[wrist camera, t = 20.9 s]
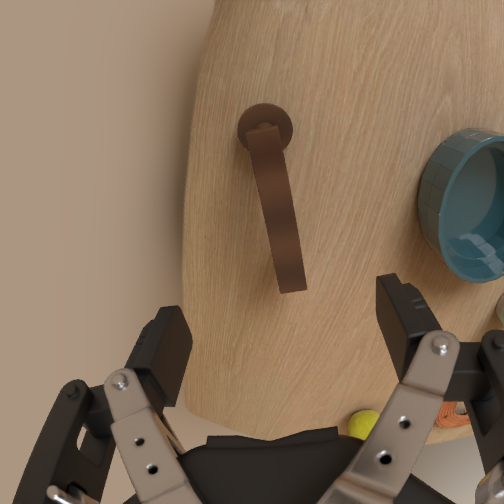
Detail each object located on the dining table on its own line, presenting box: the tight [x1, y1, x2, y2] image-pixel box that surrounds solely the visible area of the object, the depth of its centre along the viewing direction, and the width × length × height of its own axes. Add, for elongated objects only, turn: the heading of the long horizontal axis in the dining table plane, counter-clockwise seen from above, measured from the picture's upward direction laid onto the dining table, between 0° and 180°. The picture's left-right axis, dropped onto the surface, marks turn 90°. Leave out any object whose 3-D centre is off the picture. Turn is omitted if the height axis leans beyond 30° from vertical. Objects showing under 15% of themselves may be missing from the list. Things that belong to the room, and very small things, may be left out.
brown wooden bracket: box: [238, 103, 307, 294], centre depth 28 cm, size 16×5×9 cm, turn 12°
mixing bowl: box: [418, 128, 504, 283], centre depth 28 cm, size 17×17×6 cm
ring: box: [436, 401, 471, 428], centre depth 46 cm, size 25×25×2 cm
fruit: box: [347, 410, 380, 440], centre depth 45 cm, size 7×7×12 cm
